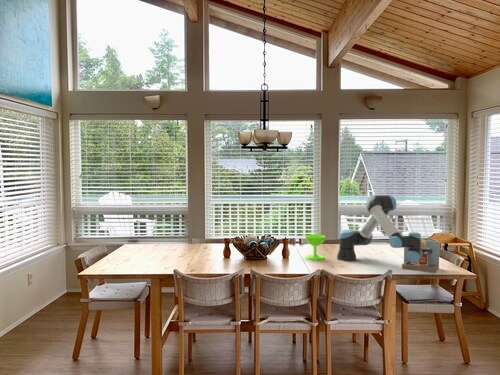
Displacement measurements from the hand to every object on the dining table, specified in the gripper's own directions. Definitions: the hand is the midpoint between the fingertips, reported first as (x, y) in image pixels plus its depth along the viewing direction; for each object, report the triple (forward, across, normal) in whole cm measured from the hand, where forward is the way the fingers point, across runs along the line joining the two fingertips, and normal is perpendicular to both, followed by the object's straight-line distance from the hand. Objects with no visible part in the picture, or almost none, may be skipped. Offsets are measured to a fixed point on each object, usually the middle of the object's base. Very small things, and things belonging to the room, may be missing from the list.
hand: (421, 248), depth 289 cm
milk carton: (-5, 0, -11) cm, 12 cm away
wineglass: (-15, -78, -14) cm, 81 cm away
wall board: (-5, 0, -14) cm, 15 cm away
